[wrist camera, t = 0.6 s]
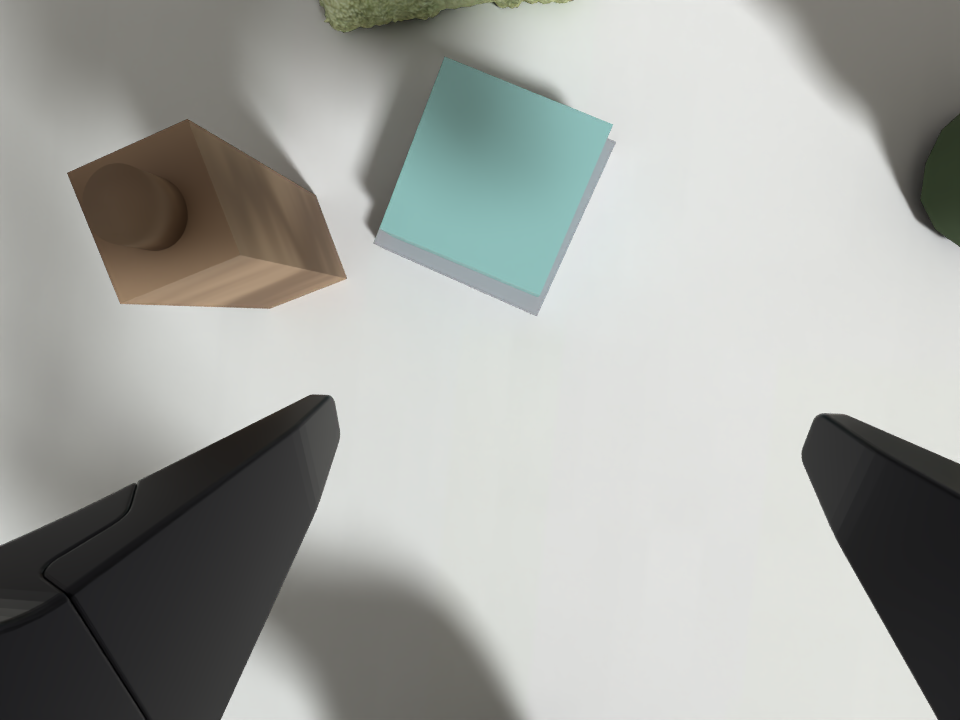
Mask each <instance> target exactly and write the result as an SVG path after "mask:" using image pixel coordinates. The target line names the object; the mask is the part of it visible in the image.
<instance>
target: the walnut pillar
mask: <svg viewBox="0 0 960 720" xmlns="http://www.w3.org/2000/svg"><path fill="white" fill-rule="evenodd" d="M67 174H68V176H69V179H70V181H71V184H72V186H73V189H74V191H75V194H76V196H77V199H78V201H79V203H80V206H81V208H82V211H83V213H84V216H85V218H86V221H87V223H88V226H89V228H90V230H91V233H92V235H93V238H94V240H95V243H96V245H97V248H98V250H99V253H100V255H101V258H102V260H103V262H104V265H105V267H106V270H107V272H108V275H109V277H110V280H111V282H112V285H113V287H114V289H115V292H116V294H117V297H118V299H119V302H120V304H142V305H173V306H204V307H236V308H267V309H270V308H273V307H275V306H278V305H280V304H283V303H286V302H288V301H291V300H293V299H296V298H298V297H301V296H304V295H306V294H309V293H311V292H314V291H316V290H319V289H322V288H324V287H327V286H329V285H332V284H334V283H337V282H340V281H342V280H345V279H347V277H346V275H345V272H344V269H343V267H342V264H341V261H340V259H339V256H338V253H337V251H336V248H335V245H334V243H333V240H332V237H331V235H330V232H329V229H328V227H327V224H326V221H325V219H324V216H323V213H322V211H321V208H320V205H319V203H318V200H317V197H316V195H314V194H313V193H311V192H309V191H308V190H306V189H304V188H303V187H301V186H299V185H297V184H296V183H294V182H292V181H291V180H289V179H287V178H286V177H284V176H282V175H281V174H279V173H277V172H276V171H274V170H272V169H271V168H269V167H267V166H266V165H264V164H262V163H260V162H259V161H257V160H255V159H254V158H252V157H250V156H249V155H247V154H245V153H244V152H242V151H240V150H239V149H237V148H235V147H234V146H232V145H230V144H229V143H227V142H225V141H223V140H222V139H220V138H218V137H217V136H215V135H213V134H212V133H210V132H208V131H207V130H205V129H203V128H202V127H200V126H198V125H197V124H195V123H193V122H192V121H190V120H188V119H186V120H184V121H182V122H180V123H177V124H175V125H173V126H171V127H169V128H166V129H164V130H162V131H160V132H157V133H155V134H153V135H151V136H148V137H146V138H144V139H142V140H140V141H137V142H135V143H133V144H131V145H128V146H126V147H124V148H122V149H119V150H117V151H115V152H113V153H110V154H108V155H106V156H104V157H102V158H99V159H97V160H95V161H93V162H90V163H88V164H86V165H84V166H81V167H79V168H77V169H75V170H73V171H70V172H68V173H67Z"/></svg>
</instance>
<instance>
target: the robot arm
mask: <svg viewBox="0 0 960 720" xmlns="http://www.w3.org/2000/svg"><path fill="white" fill-rule="evenodd" d="M339 439H340V428H339V423H338V417H337V412H336V406H335V402H334V399H333V398H332V397H331V396H330V395H309V396H307V397H305V398H303V399H301V400H299V401H297V402H295V403H293V404H291V405H289V406H287V407H285V408H283V409H281V410H279V411H277V412H275V413H273V414H271V415H269V416H267V417H265V418H263V419H261V420H259V421H257V422H255V423H253V424H251V425H249V426H247V427H245V428H243V429H241V430H239V431H237V432H235V433H233V434H231V435H229V436H227V437H225V438H223V439H221V440H219V441H217V442H215V443H213V444H211V445H209V446H207V447H205V448H203V449H201V450H199V451H197V452H195V453H193V454H191V455H189V456H187V457H185V458H183V459H181V460H179V461H177V462H175V463H173V464H171V465H169V466H167V467H165V468H163V469H161V470H159V471H157V472H155V473H153V474H151V475H149V476H147V477H145V478H143V479H141V480H139V481H138V484H136V483H133V484H131V485H129V486H127V487H125V488H123V489H121V490H119V491H117V492H115V493H113V494H111V495H109V496H107V497H105V498H103V499H101V500H99V501H97V502H95V503H92V504H90V505H88V506H86V507H84V508H82V509H80V510H78V511H76V512H74V513H72V514H69V515H67V516H65V517H63V518H61V519H58V520H56V521H54V522H52V523H50V524H47V525H45V526H43V527H41V528H39V529H36V530H34V531H32V532H30V533H28V534H25V535H23V536H21V537H19V538H16V539H14V540H12V541H9V542H7V543H5V544H3V545H0V720H221V718H222V716H223V713H224V711H225V709H226V707H227V705H228V703H229V700H230V698H231V696H232V694H233V692H234V689H235V687H236V685H237V683H238V681H239V678H240V676H241V674H242V672H243V670H244V668H245V665H246V663H247V661H248V659H249V657H250V654H251V652H252V650H253V648H254V646H255V644H256V641H257V639H258V637H259V635H260V633H261V630H262V628H263V626H264V624H265V622H266V619H267V617H268V615H269V613H270V611H271V609H272V606H273V604H274V602H275V600H276V598H277V595H278V593H279V591H280V589H281V587H282V585H283V582H284V580H285V578H286V576H287V574H288V571H289V569H290V567H291V565H292V563H293V560H294V558H295V556H296V554H297V552H298V550H299V547H300V545H301V543H302V541H303V539H304V536H305V534H306V532H307V530H308V528H309V526H310V523H311V521H312V519H313V517H314V514H315V512H316V510H317V507H318V504H319V501H320V499H321V496H322V493H323V490H324V486H325V483H326V480H327V477H328V474H329V471H330V468H331V465H332V462H333V459H334V456H335V452H336V449H337V446H338V443H339ZM802 462H803V465H804V467H805V469H806V472H807V474H808V476H809V479H810V481H811V483H812V486H813V488H814V490H815V493H816V495H817V497H818V499H819V502H820V504H821V506H822V509H823V511H824V513H825V516H826V518H827V520H828V523H829V525H830V527H831V529H832V531H833V533H834V535H835V538H836V539H837V541H838V543H839V545H840V547H841V549H842V551H843V553H844V554H845V556H846V558H847V560H848V561H849V563H850V565H851V567H852V568H853V570H854V572H855V574H856V576H857V577H858V579H859V581H860V583H861V584H862V586H863V588H864V590H865V591H866V593H867V595H868V597H869V599H870V600H871V602H872V604H873V606H874V607H875V609H876V611H877V613H878V614H879V616H880V618H881V620H882V622H883V623H884V625H885V627H886V629H887V630H888V632H889V634H890V636H891V637H892V639H893V641H894V643H895V645H896V646H897V648H898V650H899V652H900V653H901V655H902V657H903V659H904V660H905V662H906V664H907V666H908V668H909V669H910V671H911V673H912V675H913V676H914V678H915V680H916V682H917V683H918V685H919V687H920V689H921V691H922V692H923V694H924V696H925V698H926V699H927V701H928V703H929V705H930V706H931V708H932V710H933V712H934V714H935V715H936V717H937V719H938V720H960V464H959V463H956V462H954V461H952V460H949V459H947V458H945V457H942V456H940V455H938V454H936V453H933V452H931V451H929V450H926V449H924V448H922V447H919V446H917V445H915V444H913V443H910V442H908V441H906V440H903V439H901V438H899V437H896V436H894V435H892V434H889V433H887V432H885V431H883V430H880V429H878V428H876V427H873V426H871V425H869V424H866V423H864V422H862V421H859V420H857V419H855V418H853V417H850V416H848V415H845V414H829V413H822V414H819V415H817V416H816V417H815V418H814V420H813V422H812V425H811V427H810V430H809V433H808V435H807V438H806V440H805V443H804V446H803V449H802Z"/></svg>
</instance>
